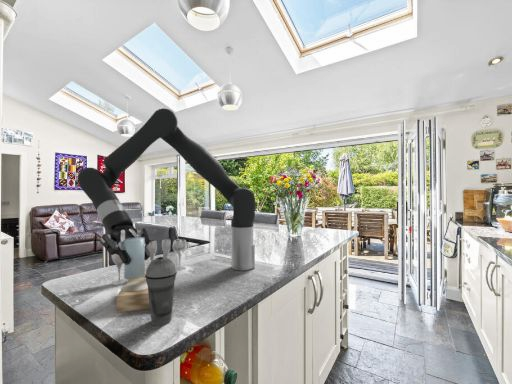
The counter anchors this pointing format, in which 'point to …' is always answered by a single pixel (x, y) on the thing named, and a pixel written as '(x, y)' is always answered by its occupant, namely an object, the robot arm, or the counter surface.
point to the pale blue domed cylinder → (135, 257)
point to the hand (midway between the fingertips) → (138, 260)
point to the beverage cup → (161, 288)
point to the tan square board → (133, 296)
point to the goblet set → (178, 247)
